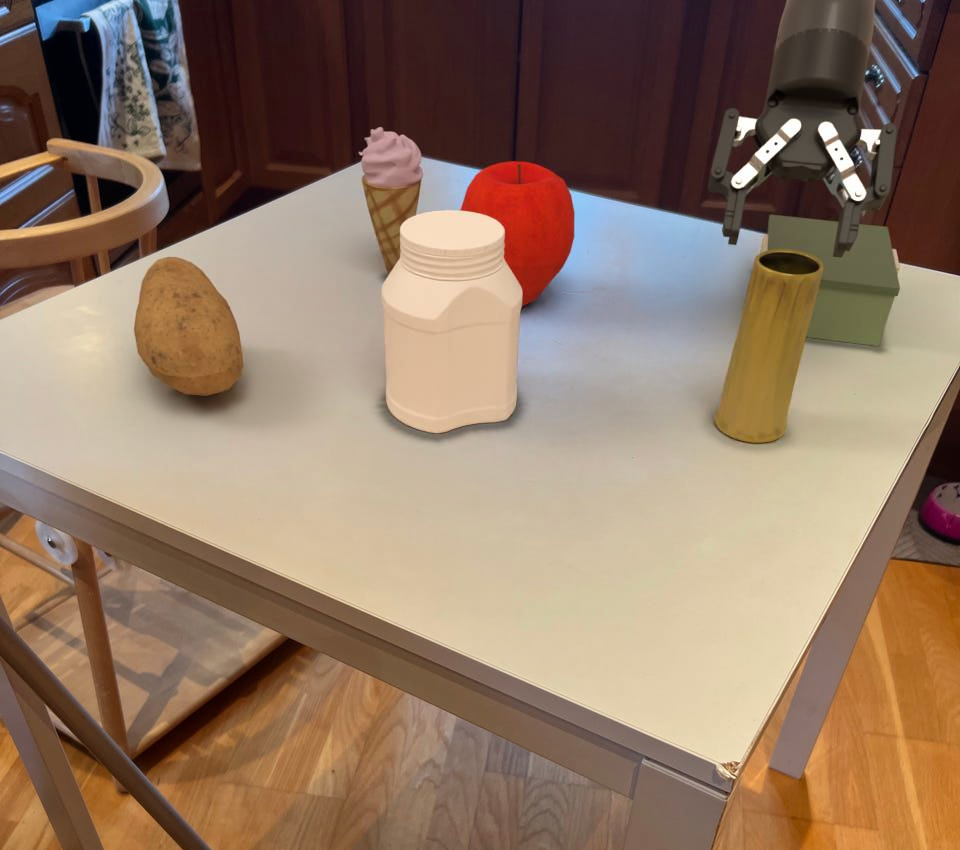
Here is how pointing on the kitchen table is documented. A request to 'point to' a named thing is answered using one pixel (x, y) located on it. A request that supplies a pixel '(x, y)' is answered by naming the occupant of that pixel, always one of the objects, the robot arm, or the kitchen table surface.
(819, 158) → the robot arm
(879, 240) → the lunchbox
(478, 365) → the jar
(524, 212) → the apple
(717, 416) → the vase
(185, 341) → the potato
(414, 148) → the ice cream cone
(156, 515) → the kitchen table surface
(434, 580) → the kitchen table surface
